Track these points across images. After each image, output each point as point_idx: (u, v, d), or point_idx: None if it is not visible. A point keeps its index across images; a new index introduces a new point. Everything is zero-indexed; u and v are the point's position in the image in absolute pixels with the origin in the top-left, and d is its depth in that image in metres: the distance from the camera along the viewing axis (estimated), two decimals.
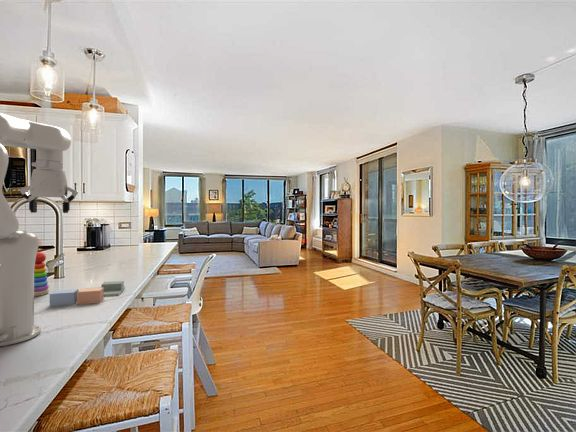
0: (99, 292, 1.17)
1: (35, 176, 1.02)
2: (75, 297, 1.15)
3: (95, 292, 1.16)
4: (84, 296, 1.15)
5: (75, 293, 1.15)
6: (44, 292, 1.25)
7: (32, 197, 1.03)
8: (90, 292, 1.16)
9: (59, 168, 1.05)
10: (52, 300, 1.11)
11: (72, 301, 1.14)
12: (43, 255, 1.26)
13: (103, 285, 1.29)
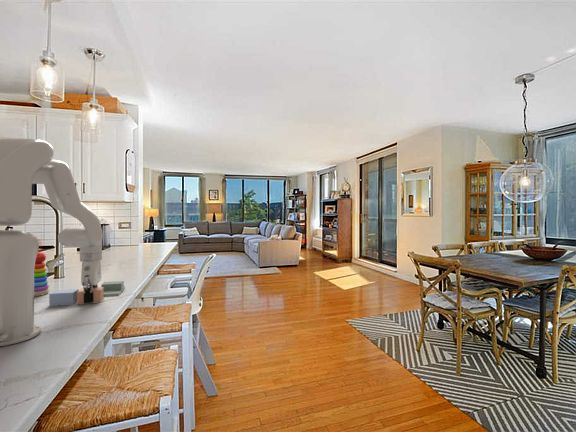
0: (99, 292, 1.17)
1: (96, 268, 1.15)
2: (74, 297, 1.15)
3: (95, 292, 1.16)
4: None
5: (74, 293, 1.15)
6: (44, 292, 1.25)
7: (92, 288, 1.15)
8: None
9: None
10: (52, 300, 1.11)
11: (71, 301, 1.13)
12: (43, 255, 1.26)
13: (103, 285, 1.29)
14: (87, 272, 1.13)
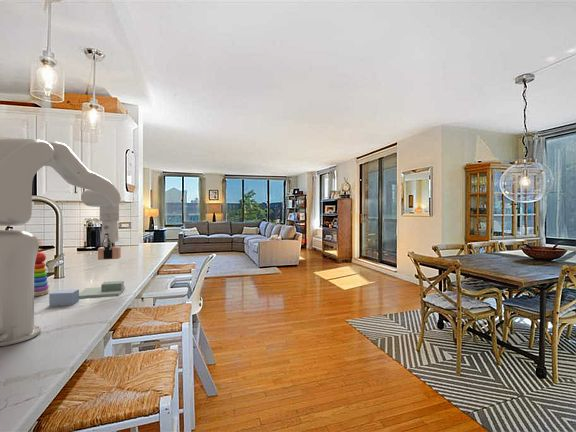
0: (117, 249, 1.29)
1: (114, 227, 1.27)
2: (74, 297, 1.15)
3: (114, 249, 1.28)
4: None
5: (74, 293, 1.15)
6: (44, 292, 1.25)
7: (111, 245, 1.27)
8: None
9: None
10: (52, 300, 1.12)
11: (71, 301, 1.13)
12: (43, 255, 1.26)
13: (103, 285, 1.29)
14: (107, 230, 1.25)
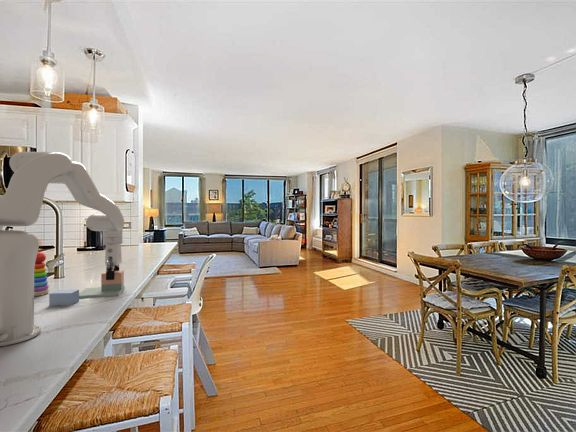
0: (120, 274, 1.31)
1: (117, 250, 1.30)
2: (73, 298, 1.14)
3: (117, 274, 1.31)
4: None
5: (73, 294, 1.14)
6: (44, 292, 1.25)
7: (113, 267, 1.29)
8: None
9: None
10: (51, 300, 1.12)
11: (70, 302, 1.13)
12: (43, 255, 1.26)
13: (103, 285, 1.29)
14: (110, 254, 1.28)
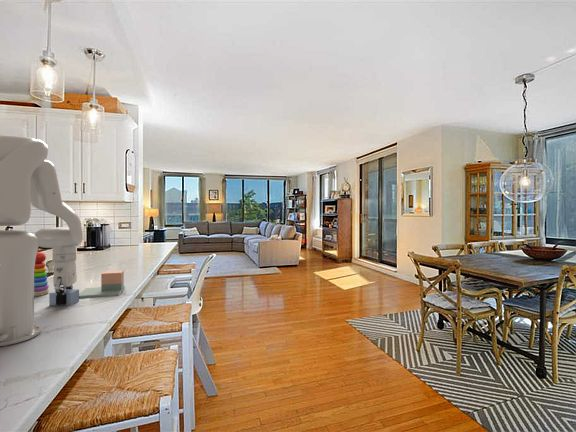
0: (120, 274, 1.31)
1: (69, 269, 1.12)
2: (73, 297, 1.14)
3: (117, 274, 1.31)
4: (107, 277, 1.30)
5: (73, 293, 1.14)
6: (44, 292, 1.25)
7: (65, 290, 1.12)
8: (112, 274, 1.30)
9: None
10: (51, 299, 1.12)
11: (69, 301, 1.13)
12: (43, 255, 1.26)
13: (103, 285, 1.29)
14: (59, 273, 1.10)
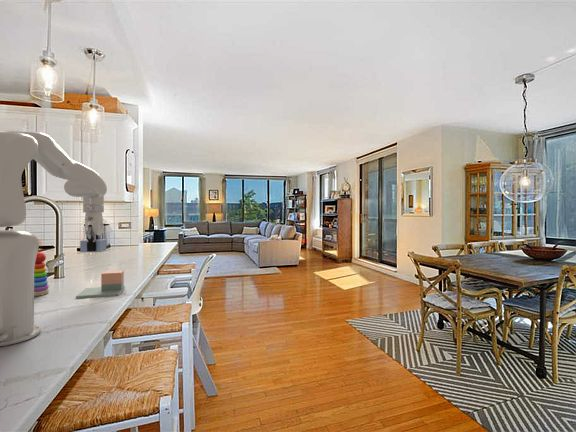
0: (120, 274, 1.31)
1: (98, 218, 1.22)
2: (102, 245, 1.24)
3: (117, 274, 1.31)
4: (107, 277, 1.30)
5: (102, 242, 1.24)
6: (44, 292, 1.25)
7: (95, 237, 1.22)
8: (112, 274, 1.30)
9: None
10: (82, 246, 1.22)
11: (99, 249, 1.23)
12: (43, 255, 1.26)
13: (103, 285, 1.29)
14: (90, 222, 1.20)
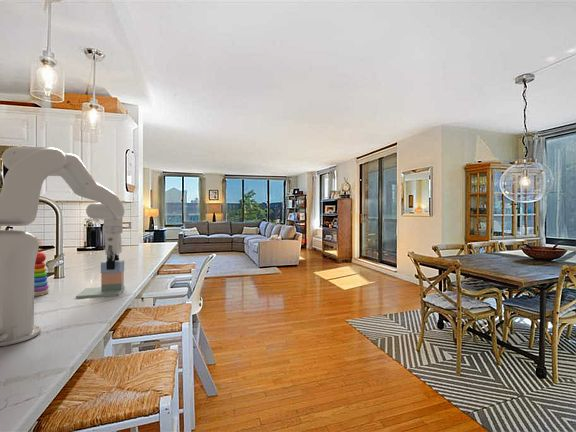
0: (120, 274, 1.31)
1: (117, 239, 1.30)
2: (121, 266, 1.32)
3: (117, 274, 1.31)
4: (107, 277, 1.30)
5: (121, 263, 1.32)
6: (44, 292, 1.25)
7: (114, 257, 1.29)
8: (112, 274, 1.30)
9: None
10: (102, 268, 1.29)
11: (118, 270, 1.30)
12: (43, 255, 1.26)
13: (103, 285, 1.29)
14: (110, 242, 1.28)
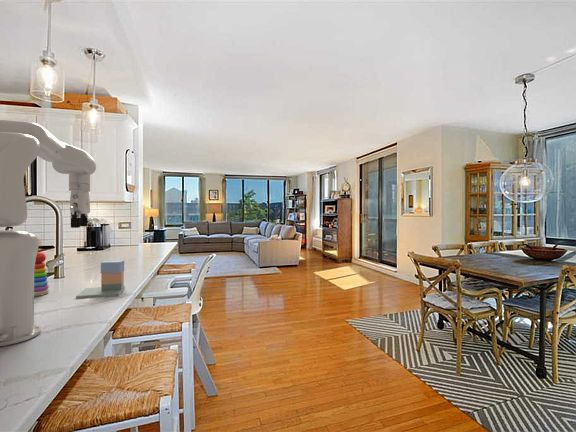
0: (120, 274, 1.31)
1: (84, 197, 1.22)
2: (121, 266, 1.32)
3: (117, 274, 1.31)
4: (107, 277, 1.30)
5: (121, 263, 1.32)
6: (44, 292, 1.25)
7: (79, 214, 1.20)
8: (112, 274, 1.30)
9: None
10: (102, 268, 1.29)
11: (118, 270, 1.30)
12: (43, 255, 1.26)
13: (103, 285, 1.29)
14: (75, 200, 1.19)
